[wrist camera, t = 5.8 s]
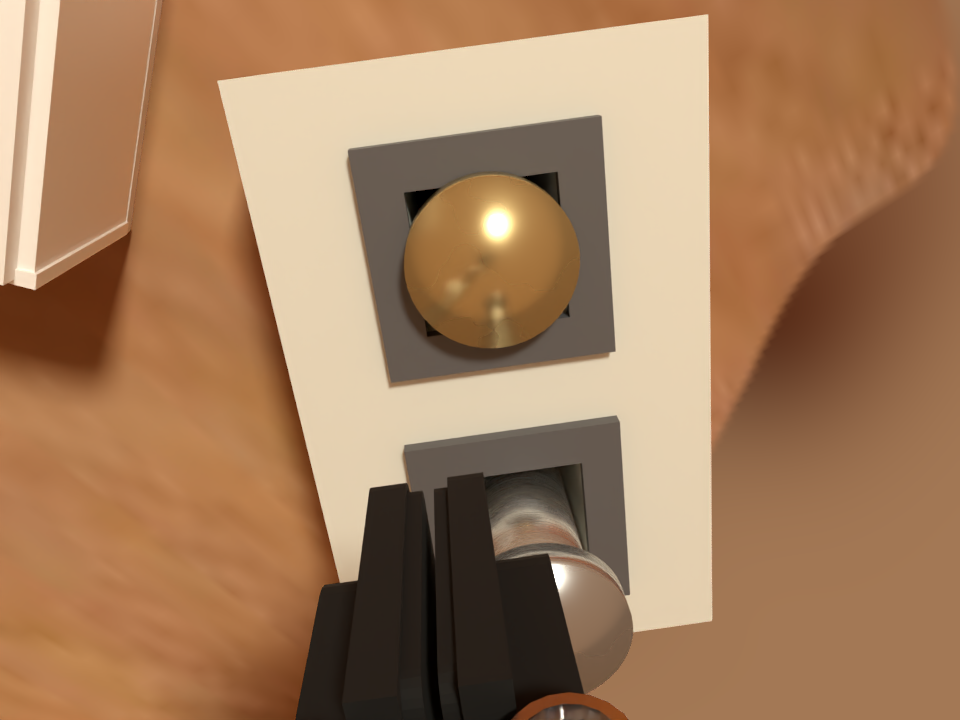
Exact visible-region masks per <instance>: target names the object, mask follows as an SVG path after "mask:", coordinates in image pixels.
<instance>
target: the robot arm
mask: <svg viewBox="0 0 960 720" xmlns="http://www.w3.org/2000/svg"><path fill="white" fill-rule="evenodd" d="M434 525H435V556H434V550H433V544H432V538H431V533H430V527H429V521H428V515H427V509H426V503H425V498H424V493H423V491H415V492H410V490H409V486H408V484H407V483H401V484H394V485H387V486H380V487H373V488H370V490H369V496H368V504H367V512H366V519H365V527H364V535H363V543H362V551H361V558H360V566H359V574H358V580H357V581H350V582H343V583H336V584H328V585H324V586H323V587H322V590H321V593H320V596H319V602H318V607H317V612H316V617H315V622H314V627H313V632H312V637H311V642H310V648H309V653H308V658H307V663H306V668H305V673H304V678H303V683H302V689H301V694H300V699H299V704H298V709H297V714H296V719H295V720H628V718H627V717H626V716H625V714H624V713H623V712H621V711H620V710H618V709H617V708H615V707H614V706H613V705H612V704H610V703H609V702H607V701H605V700H601V699H599V698H596V697H594V696H591V695H588V694H584V691H583V687H582V683H581V679H580V675H579V671H578V667H577V663H576V659H575V655H574V651H573V647H572V643H571V639H570V635H569V631H568V627H567V624H566V620H565V616H564V612H563V608H562V604H561V600H560V596H559V592H558V588H557V584H556V580H555V576H554V572H553V568H552V564H551V560H550V557H549V555H548V553H547V554H540V555H533V556H526V557H519V558H512V559H505V560H498V561H496V559H495V552H494V545H493V538H492V531H491V524H490V517H489V510H488V503H487V496H486V489H485V482H484V475H483V472H480V473H473V474H466V475H459V476H451V477H447V487H444V488H436V489H434Z"/></svg>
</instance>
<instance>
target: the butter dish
mask: <svg viewBox="0 0 960 720" xmlns="http://www.w3.org/2000/svg"><path fill="white" fill-rule="evenodd" d="M162 2H163V0H0V285H5V284H7V283H9V284H13V285H17V286H21V287H25V288H29V289H33V290H36V289H38V288H39V287H41V286H43V285H44V284H46V283H48V282H49V281H51V280H53V279H54V278H56V277H58V276H59V275H61V274H63V273H64V272H66V271H67V270H69V269H71V268H72V267H74V266H76V265H77V264H79V263H81V262H82V261H84V260H86V259H87V258H89V257H91V256H92V255H94V254H95V253H97V252H99V251H100V250H102V249H104V248H105V247H107V246H109V245H110V244H112V243H114V242H115V241H117V240H119V239H120V238H122V237H123V236H125V235H127V233H128V232H129V231H131V224H132V217H133V210H134V203H135V195H136V188H137V181H138V174H139V167H140V160H141V152H142V145H143V138H144V131H145V124H146V116H147V109H148V102H149V95H150V88H151V81H152V73H153V66H154V59H155V52H156V45H157V38H158V30H159V23H160V16H161V9H162Z"/></svg>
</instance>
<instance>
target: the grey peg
mask: <svg viewBox="0 0 960 720" xmlns="http://www.w3.org/2000/svg"><path fill="white" fill-rule="evenodd" d="M484 482H485V489H486V496H487V503H488V510H489V517H490V524H491V531H492V538H493V545H494V552H495V559H496V561H498V560H505V559H512V558H519V557H526V556H533V555H540V554H547V553H548V555H549V557H550V560H551V564H552V568H553V572H554V576H555V580H556V584H557V588H558V592H559V596H560V600H561V604H562V608H563V612H564V616H565V620H566V624H567V627H568V631H569V635H570V639H571V643H572V647H573V651H574V655H575V659H576V663H577V667H578V671H579V675H580V679H581V683H582V687H583V691H584V694H587V693H588V692H590V691H592V690H594V689H596V688H597V687H598V686H600V685H601V684H603V683H604V682H605V681H606V680H608V679H609V678H610V677H611V676H612V675H613V674H614V673H615V672H616V671H617V670H618V668H619V667H620V665H621V664H622V662H623V661H624V659H625V657H626V656H627V654H628V651H629V649H630V646H631V642H632V636H633V620H632V615H631V612H630V609H629V606H628V603H627V600H626V598H625V595H624V592H623V589H622V586H621V584H620V582H619V580H618V578H617V576H616V575H615V574H614V572H613V571H612V570H611V568H610V567H609V566H608V565H607V564H606V563H605V562H603V561H602V560H601V559H599V558H598V557H597V556H595V555H593V554H591V553H589V552H587V551H585V550H583V549H582V546H581V543H580V540H579V536H578V533H577V530H576V526H575V523H574V520H573V517H572V513H571V510H570V507H569V504H568V500H567V497H566V494H565V490H564V487H563V484H562V481H561V477H560V474H559V472H558V470H557V468H556V467H551V468H544V469H537V470H529V471H522V472H515V473H508V474H501V475H494V476H487V477H484Z"/></svg>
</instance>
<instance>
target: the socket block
mask: <svg viewBox="0 0 960 720" xmlns="http://www.w3.org/2000/svg"><path fill="white" fill-rule="evenodd" d="M218 85H219V89H220V93H221V97H222V101H223V106H224V110H225V114H226V118H227V122H228V126H229V130H230V134H231V138H232V142H233V147H234V151H235V155H236V159H237V163H238V167H239V171H240V175H241V179H242V183H243V187H244V192H245V196H246V200H247V204H248V208H249V212H250V216H251V220H252V224H253V228H254V233H255V237H256V241H257V245H258V249H259V253H260V257H261V261H262V265H263V269H264V273H265V278H266V282H267V286H268V290H269V294H270V298H271V302H272V306H273V310H274V314H275V319H276V323H277V327H278V331H279V335H280V339H281V343H282V347H283V351H284V355H285V360H286V364H287V368H288V372H289V376H290V380H291V384H292V388H293V392H294V396H295V400H296V405H297V409H298V413H299V417H300V421H301V425H302V429H303V433H304V437H305V441H306V446H307V450H308V454H309V458H310V462H311V466H312V470H313V474H314V478H315V482H316V486H317V491H318V495H319V499H320V503H321V507H322V511H323V515H324V519H325V523H326V527H327V532H328V536H329V540H330V544H331V548H332V552H333V556H334V560H335V564H336V568H337V572H338V577H339V581H340V583H343V582H350V581H357V580H358V574H359V566H360V558H361V551H362V543H363V535H364V527H365V519H366V512H367V504H368V496H369V490H370V488H373V487H380V486H387V485H394V484H401V483H407V484H408V486H409V490H410V492H415V491H423V493H424V498H425V503H426V509H427V515H428V521H429V527H430V533H431V538H432V544H433V550H434V556H435V525H434V489H436V488H444V487H447V477H451V476H459V475H466V474H473V473H480V472H483V475H484V477H487V476H494V475H501V474H508V473H515V472H522V471H529V470H537V469H544V468H551V467H556V468H557V470H558V472H559V474H560V477H561V481H562V484H563V487H564V490H565V494H566V497H567V500H568V504H569V507H570V510H571V513H572V517H573V520H574V523H575V526H576V530H577V533H578V536H579V540H580V543H581V546H582V549H583V550H585V551H587V552H589V553H591V554H593V555H595V556H597V557H598V558H599V559H601V560H602V561H603V562H605V563H606V564H607V565H608V566H609V567H610V568H611V570H612V571H613V572H614V574H615V575H616V576H617V578H618V580H619V582H620V584H621V586H622V589H623V592H624V595H625V598H626V600H627V603H628V606H629V609H630V612H631V615H632V620H633V632H638V631H645V630H652V629H659V628H665V627H673V626H680V625H686V624H693V623H700V622H707V621H712V531H711V530H712V519H711V369H710V218H709V67H708V15H700V16H693V17H685V18H677V19H670V20H662V21H654V22H647V23H639V24H632V25H624V26H617V27H610V28H602V29H595V30H587V31H580V32H573V33H565V34H558V35H550V36H543V37H536V38H528V39H521V40H514V41H506V42H499V43H491V44H484V45H477V46H469V47H462V48H455V49H447V50H440V51H432V52H425V53H418V54H410V55H403V56H395V57H388V58H381V59H373V60H366V61H359V62H351V63H344V64H336V65H329V66H322V67H314V68H307V69H300V70H292V71H285V72H277V73H270V74H263V75H256V76H249V77H242V78H235V79H228V80H221V81H218ZM487 171H496V172H505V173H510V174H515V175H518V176H520V177H522V176H529V177H530V181H532V182H534V183H535V184H537V185H538V186H540V187H541V188H543V189H544V190H545V191H546V192H547V193H548V194H549V195H550V196H552V197H553V199H554V200H555V201H556V202H557V203H558V205H559V206H560V207H561V208H562V210H563V211H564V212H565V213H566V215H567V217H568V218H569V220H570V222H571V224H572V226H573V228H574V231H575V233H576V237H577V240H578V244H579V251H580V270H579V277H578V281H577V285H576V288H575V290H574V293H573V295H572V298H571V300H570V301H569V303H568V305H567V307H566V308H565V310H564V311H563V312H562V314H561V315H560V316H559V317H558V318H557V319H556V320H555V321H554V323H553V324H552V325H550V326H549V327H548V328H547V329H545V330H544V331H543V332H541V333H540V334H538V335H537V336H535V337H533V338H531V339H529V340H527V341H525V342H522V343H519V344H516V345H513V346H508V347H503V348H478V347H472V346H468V345H464V344H461V343H458V342H456V341H454V340H451V339H449V338H448V337H446V336H444V335H443V334H441V333H439V332H438V331H437V330H436V329H434V328H433V327H432V326H431V325H430V324H429V323H428V322H427V321H426V320H425V319H424V318H423V317H422V315H421V314H420V313H419V311H418V310H417V308H416V306H415V305H414V303H413V301H412V299H411V296H410V294H409V291H408V288H407V284H406V280H405V272H404V255H405V247H406V241H407V236H408V233H409V230H410V226H411V224H412V222H413V220H414V218H415V216H416V214H417V213H418V211H419V210H418V204H417V197H416V191H420V190H427V189H434V188H441V187H442V186H444V185H445V184H447V183H449V182H451V181H453V180H455V179H457V178H459V177H462V176H465V175H468V174H472V173H477V172H487Z"/></svg>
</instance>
